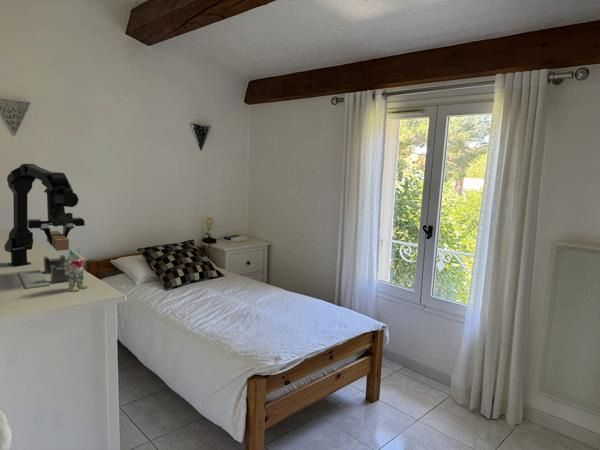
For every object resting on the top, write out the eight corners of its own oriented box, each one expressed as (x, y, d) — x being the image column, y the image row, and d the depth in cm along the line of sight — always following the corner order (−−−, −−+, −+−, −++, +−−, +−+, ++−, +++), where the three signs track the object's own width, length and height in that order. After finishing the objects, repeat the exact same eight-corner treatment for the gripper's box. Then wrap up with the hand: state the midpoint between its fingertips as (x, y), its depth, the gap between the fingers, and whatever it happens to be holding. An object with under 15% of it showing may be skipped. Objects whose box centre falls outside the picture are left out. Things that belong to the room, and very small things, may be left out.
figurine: (63, 293, 141) (61, 251, 139) (62, 287, 147) (60, 246, 145) (89, 290, 145) (87, 249, 143) (86, 284, 152) (85, 245, 149)
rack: (44, 271, 166) (43, 256, 165) (63, 269, 170) (63, 254, 169) (52, 283, 151) (52, 267, 150) (74, 280, 155) (73, 265, 154)
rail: (46, 240, 166) (46, 231, 165) (58, 240, 168) (57, 230, 168) (56, 250, 149) (56, 240, 148) (69, 249, 152) (68, 239, 151)
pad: (18, 272, 162) (18, 271, 162) (39, 270, 167) (39, 269, 167) (26, 288, 143) (26, 287, 143) (49, 285, 148) (49, 284, 148)
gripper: (29, 207, 144) (32, 250, 147) (87, 206, 156) (88, 246, 159) (26, 204, 153) (28, 245, 155) (80, 203, 165) (81, 241, 167)
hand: (57, 244), depth 159 cm, fingers closed on rail, 4 cm apart
